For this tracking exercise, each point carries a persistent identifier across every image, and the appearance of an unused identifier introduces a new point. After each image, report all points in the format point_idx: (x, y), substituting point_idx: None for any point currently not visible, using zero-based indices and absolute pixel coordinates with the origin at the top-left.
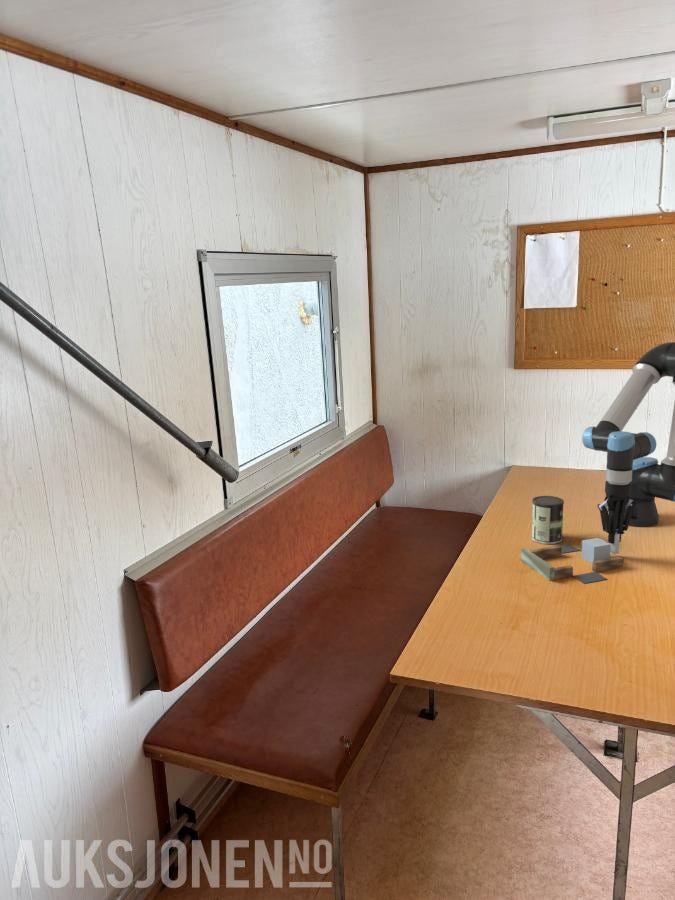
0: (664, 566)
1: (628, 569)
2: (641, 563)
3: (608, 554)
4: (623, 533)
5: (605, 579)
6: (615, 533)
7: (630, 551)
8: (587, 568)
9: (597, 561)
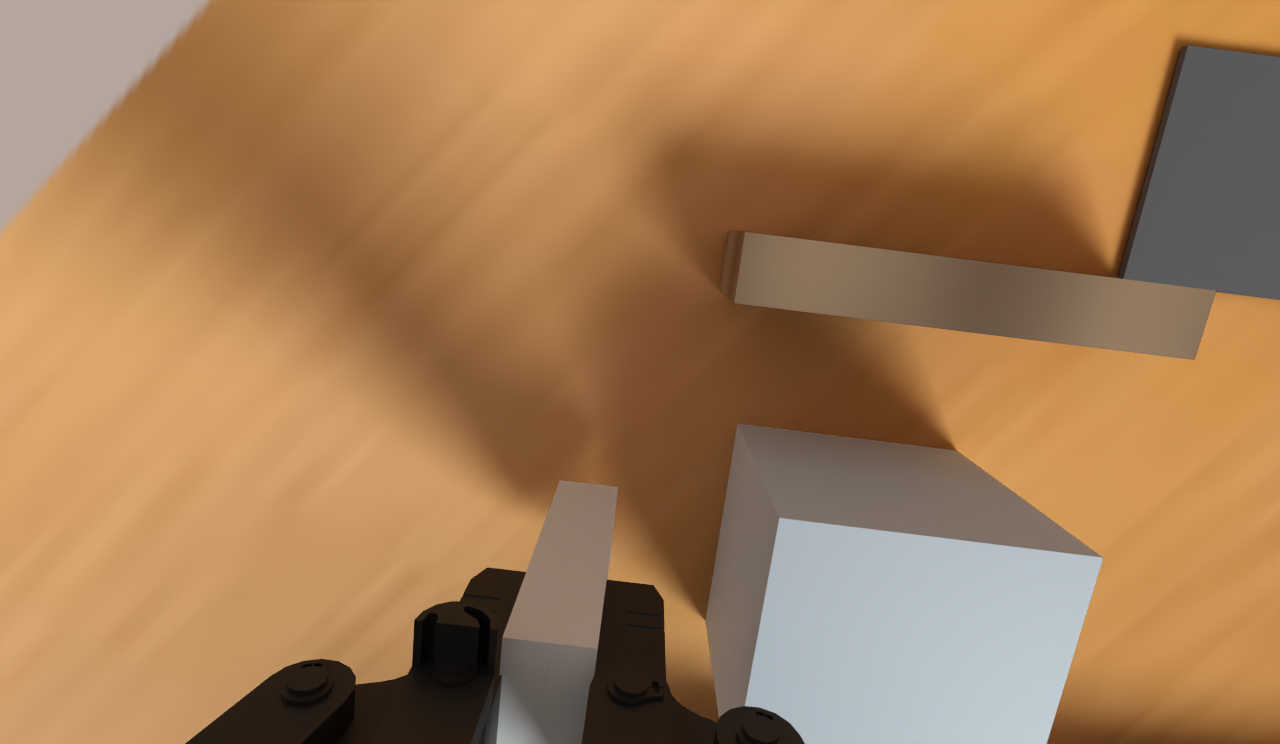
0: (257, 4)
1: (719, 155)
2: (447, 214)
3: (777, 459)
4: (443, 608)
5: (1211, 49)
6: (600, 673)
7: (311, 525)
8: (1096, 404)
9: (1149, 323)
